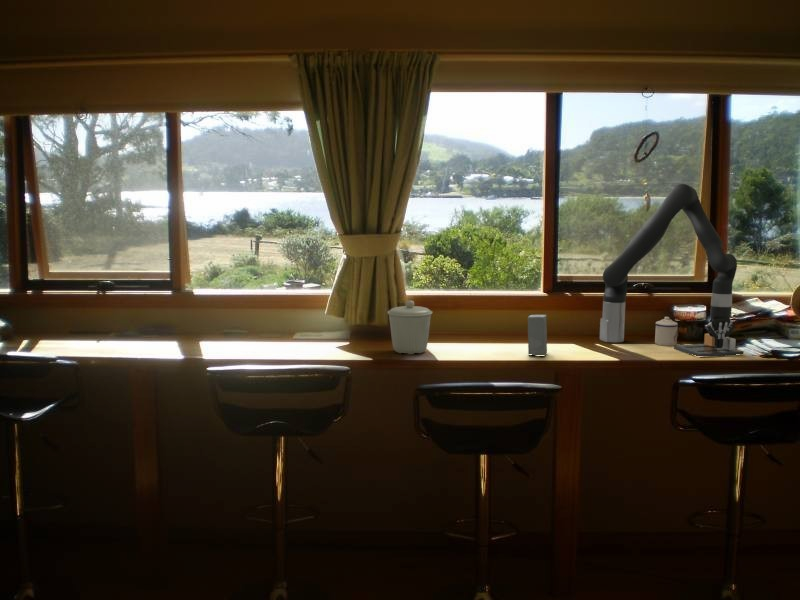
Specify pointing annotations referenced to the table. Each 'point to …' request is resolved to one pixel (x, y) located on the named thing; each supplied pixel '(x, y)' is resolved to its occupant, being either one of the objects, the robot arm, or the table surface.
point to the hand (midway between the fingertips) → (718, 347)
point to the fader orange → (709, 340)
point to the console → (706, 350)
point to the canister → (409, 328)
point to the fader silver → (729, 343)
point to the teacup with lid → (666, 332)
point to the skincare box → (537, 334)
